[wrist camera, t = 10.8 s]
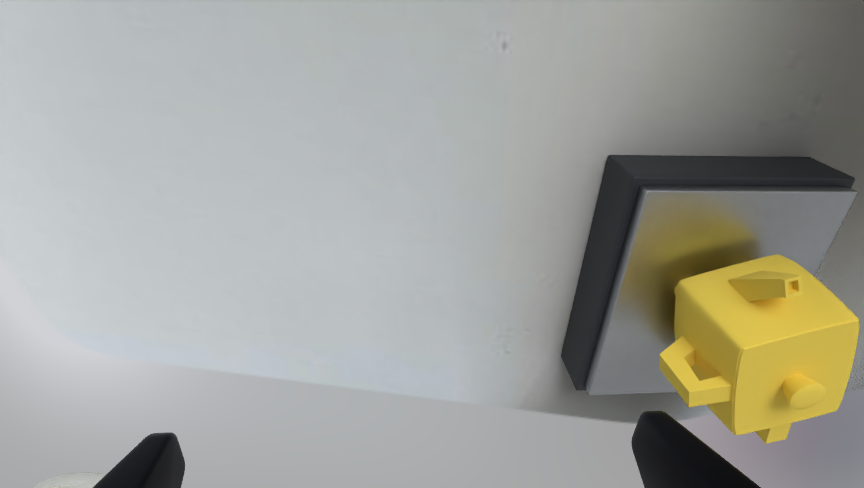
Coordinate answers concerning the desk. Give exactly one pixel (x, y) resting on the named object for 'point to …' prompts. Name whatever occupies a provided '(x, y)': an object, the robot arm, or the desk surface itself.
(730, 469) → the robot arm
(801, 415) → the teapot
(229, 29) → the desk surface
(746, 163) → the scale
